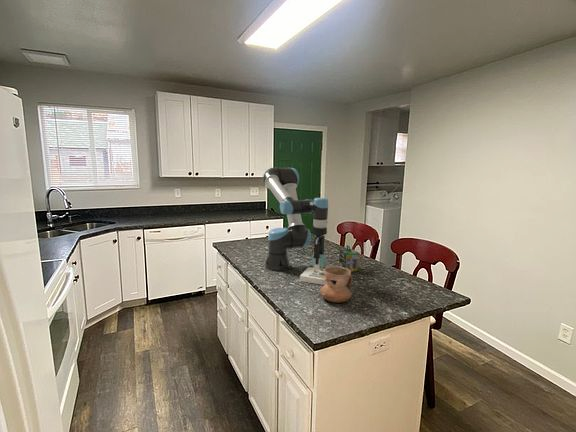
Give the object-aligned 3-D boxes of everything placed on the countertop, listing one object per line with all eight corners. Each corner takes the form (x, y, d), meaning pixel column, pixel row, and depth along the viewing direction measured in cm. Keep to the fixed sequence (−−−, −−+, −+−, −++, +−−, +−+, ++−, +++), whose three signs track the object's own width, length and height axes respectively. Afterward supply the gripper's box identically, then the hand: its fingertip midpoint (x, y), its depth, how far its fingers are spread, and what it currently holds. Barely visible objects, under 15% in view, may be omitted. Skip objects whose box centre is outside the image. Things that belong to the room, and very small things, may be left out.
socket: (299, 281, 167) (299, 274, 166) (308, 271, 182) (308, 265, 181) (336, 287, 160) (336, 280, 159) (342, 276, 175) (342, 270, 174)
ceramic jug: (330, 308, 136) (332, 278, 133) (311, 296, 148) (313, 267, 146) (361, 301, 145) (363, 272, 142) (341, 290, 157) (343, 263, 155)
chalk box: (359, 271, 185) (360, 247, 182) (345, 272, 182) (346, 248, 180) (351, 266, 193) (353, 243, 191) (338, 267, 191) (339, 244, 188)
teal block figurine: (311, 270, 169) (311, 255, 168) (313, 268, 174) (314, 253, 173) (323, 272, 167) (323, 257, 166) (325, 269, 172) (326, 254, 171)
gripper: (322, 230, 157) (320, 274, 161) (330, 224, 174) (328, 264, 178) (308, 229, 160) (307, 272, 163) (317, 223, 176) (316, 262, 180)
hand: (318, 268), depth 170 cm, fingers closed on teal block figurine, 5 cm apart
